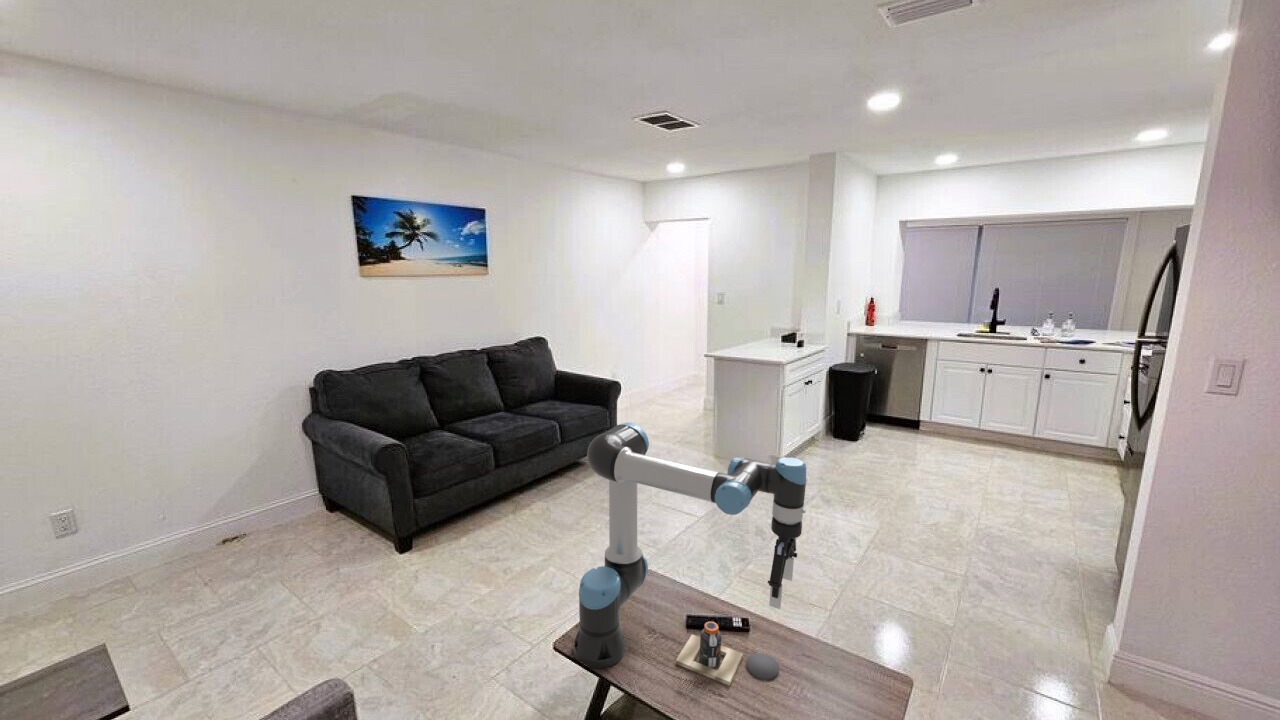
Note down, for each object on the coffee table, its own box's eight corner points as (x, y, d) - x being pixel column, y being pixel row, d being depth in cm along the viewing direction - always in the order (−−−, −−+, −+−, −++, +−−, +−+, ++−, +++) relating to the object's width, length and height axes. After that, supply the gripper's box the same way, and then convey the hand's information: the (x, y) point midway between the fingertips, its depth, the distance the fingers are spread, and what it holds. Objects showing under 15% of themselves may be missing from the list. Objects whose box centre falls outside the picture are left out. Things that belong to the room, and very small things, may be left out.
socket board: (675, 663, 148) (675, 660, 148) (691, 637, 158) (692, 634, 158) (729, 685, 141) (729, 682, 140) (742, 657, 151) (743, 653, 151)
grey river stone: (742, 671, 146) (742, 669, 145) (751, 651, 153) (751, 648, 153) (774, 684, 141) (774, 681, 141) (781, 662, 149) (782, 660, 149)
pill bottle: (719, 670, 146) (721, 634, 144) (698, 666, 147) (700, 631, 145) (720, 654, 152) (722, 620, 150) (700, 651, 153) (701, 617, 151)
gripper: (791, 544, 121) (784, 625, 125) (811, 502, 142) (804, 572, 146) (759, 535, 124) (754, 614, 128) (783, 496, 146) (778, 564, 150)
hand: (781, 592), depth 137 cm, fingers open, 13 cm apart
